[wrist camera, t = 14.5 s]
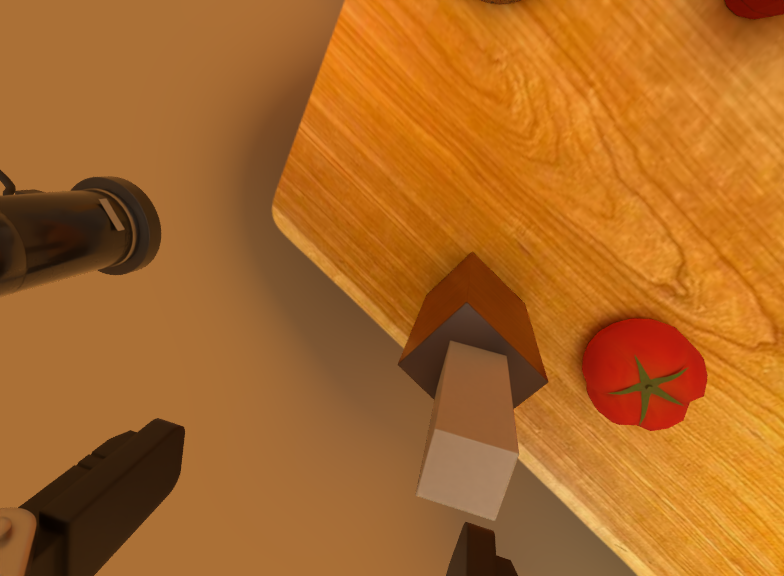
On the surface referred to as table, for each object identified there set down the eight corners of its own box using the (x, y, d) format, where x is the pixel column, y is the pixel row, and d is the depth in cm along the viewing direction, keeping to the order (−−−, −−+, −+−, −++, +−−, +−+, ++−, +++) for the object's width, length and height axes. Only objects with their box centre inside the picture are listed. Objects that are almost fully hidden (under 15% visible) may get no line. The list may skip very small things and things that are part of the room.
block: (436, 389, 33) (415, 495, 22) (450, 340, 31) (434, 428, 21) (490, 405, 32) (495, 521, 22) (506, 355, 31) (519, 454, 20)
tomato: (635, 288, 45) (663, 312, 38) (708, 364, 46) (749, 400, 39) (551, 353, 49) (563, 386, 42) (620, 422, 49) (644, 466, 42)
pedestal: (426, 295, 50) (397, 364, 33) (472, 251, 47) (466, 301, 30) (477, 345, 50) (474, 439, 33) (525, 303, 48) (549, 382, 31)
